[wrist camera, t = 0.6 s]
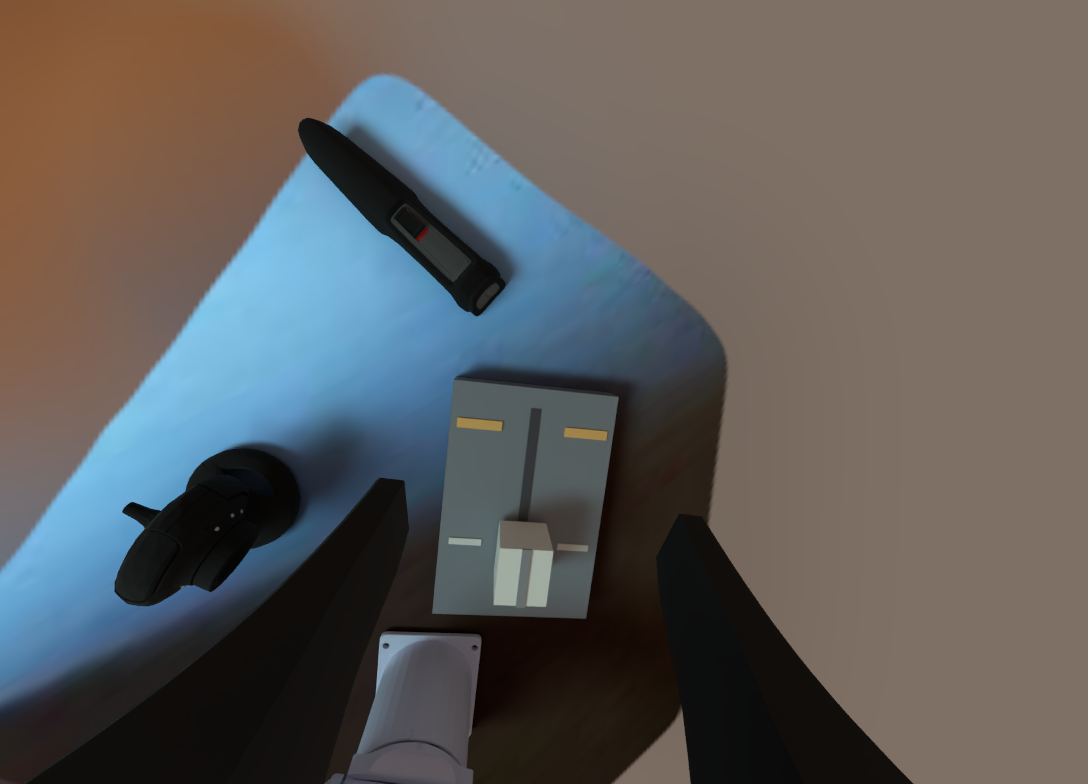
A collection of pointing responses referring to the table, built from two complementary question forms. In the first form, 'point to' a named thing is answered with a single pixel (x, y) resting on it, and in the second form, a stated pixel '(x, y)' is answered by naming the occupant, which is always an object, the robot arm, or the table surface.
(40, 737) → the table surface
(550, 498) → the console
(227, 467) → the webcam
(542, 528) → the fader
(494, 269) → the electric trimmer
